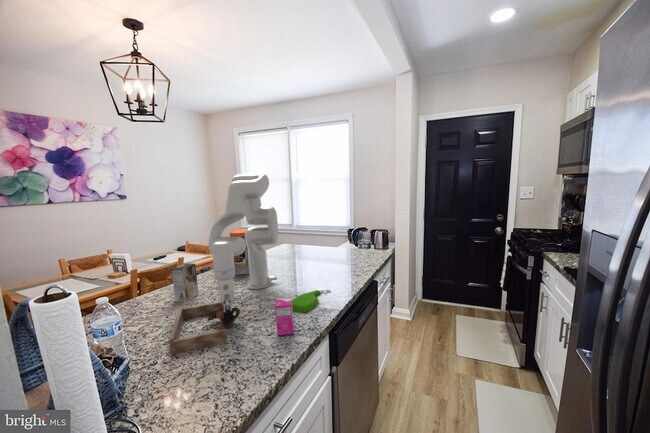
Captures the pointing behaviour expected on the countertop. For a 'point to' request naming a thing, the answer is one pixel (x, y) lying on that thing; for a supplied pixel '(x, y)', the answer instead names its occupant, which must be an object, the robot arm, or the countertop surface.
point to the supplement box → (284, 317)
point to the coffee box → (185, 281)
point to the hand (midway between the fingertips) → (228, 315)
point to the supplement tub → (241, 260)
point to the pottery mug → (220, 315)
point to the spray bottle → (307, 300)
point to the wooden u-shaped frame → (197, 340)
